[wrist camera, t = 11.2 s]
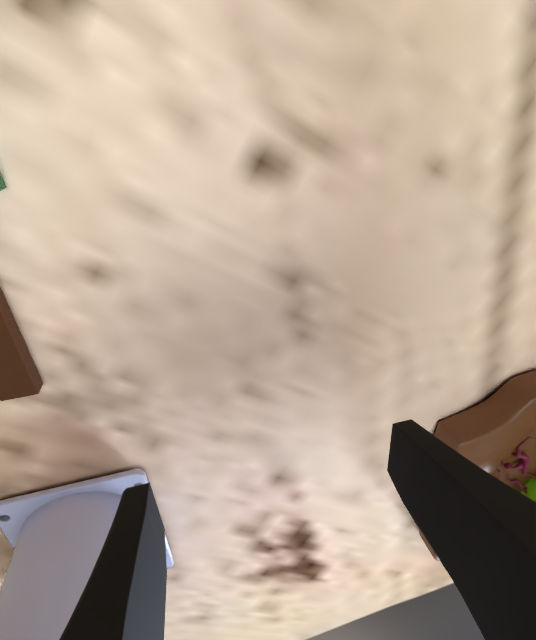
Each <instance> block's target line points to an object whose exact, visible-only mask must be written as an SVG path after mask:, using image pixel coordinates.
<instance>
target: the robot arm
mask: <svg viewBox="0 0 536 640" xmlns="http://www.w3.org/2000/svg"><path fill="white" fill-rule="evenodd" d="M387 471H388V473H389V475H390V477H391V479H392V481H393V483H394V485H395V487H396V489H397V491H398V493H399V495H400V497H401V499H402V501H403V503H404V505H405V506H406V508H407V510H408V511H409V513H410V514H411V516H412V518H413V519H414V521H415V522H416V524H417V525H418V527H419V529H420V530H421V532H422V533H423V535H424V536H425V538H426V539H427V541H428V542H429V544H430V546H431V547H432V549H433V550H434V552H435V553H436V555H437V556H438V558H439V560H440V561H441V563H442V564H443V566H444V567H445V569H446V570H447V572H448V573H449V575H450V577H451V578H452V580H453V582H454V583H455V585H456V587H457V588H458V590H459V591H460V593H461V595H462V597H463V599H464V601H465V603H466V604H467V606H468V608H469V610H470V612H471V614H472V616H473V617H474V620H475V621H476V623H477V625H478V627H479V629H480V631H481V633H482V635H483V637H484V638H485V640H536V502H535V501H533V500H532V499H530V498H528V497H527V496H525V495H523V494H521V493H520V492H518V491H517V490H515V489H513V488H512V487H510V486H508V485H507V484H505V483H503V482H502V481H500V480H499V479H497V478H496V477H494V476H492V475H491V474H489V473H488V472H486V471H485V470H483V469H482V468H480V467H479V466H477V465H476V464H474V463H473V462H471V461H470V460H468V459H467V458H465V457H464V456H462V455H461V454H459V453H458V452H457V451H455V450H454V449H452V448H451V447H449V446H448V445H447V444H445V443H444V442H442V441H441V440H440V439H438V438H437V437H435V436H434V435H433V434H431V433H430V432H428V431H427V430H425V429H424V428H423V427H421V426H420V425H418V424H417V423H416V422H414V421H413V420H407V421H403V422H399V423H394V424H393V427H392V435H391V444H390V452H389V461H388V469H387ZM137 483H139V484H137ZM0 529H1V530H2V532H3V533H4V535H5V536H6V538H7V539H8V541H9V542H10V544H11V545H12V547H13V548H14V552H13V555H12V557H11V560H10V563H9V566H8V569H7V572H6V575H5V578H4V581H3V584H2V587H1V590H0V640H164V624H165V602H166V577H167V569H168V568H170V567H171V566H172V565H173V556H172V553H171V550H170V547H169V544H168V541H167V538H166V535H165V529H164V526H163V523H162V520H161V517H160V514H159V510H158V507H157V504H156V501H155V498H154V495H153V492H152V489H151V486H150V483H148V480H147V477H146V474H145V472H144V471H143V470H141V469H133V470H129V471H124V472H120V473H116V474H112V475H107V476H103V477H99V478H94V479H90V480H86V481H82V482H77V483H73V484H69V485H64V486H60V487H56V488H52V489H47V490H43V491H39V492H35V493H30V494H26V495H22V496H17V497H13V498H9V499H5V500H0Z"/></svg>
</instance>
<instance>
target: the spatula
mask: <svg viewBox="0 0 536 640" xmlns="http://www.w3.org/2000/svg"><path fill="white" fill-rule="evenodd" d="M5 188H6V187H5V184H4V182H3V179H2V176H1V174H0V191H1V190H3V189H5ZM42 385H43V383H42V381H41V378H40V376H39V374H38V372H37V369H36V367H35V365H34V363H33V360H32V358H31V356H30V353H29V351H28V349H27V347H26V344H25V342H24V340H23V338H22V335H21V333H20V331H19V329H18V326H17V324H16V322H15V320H14V317H13V315H12V313H11V311H10V308H9V306H8V304H7V302H6V299H5V297H4V295H3V293H2V290H1V288H0V400H1V401H4V400H9V399H15V398H20V397H25V396H30V395H35V394H39V392H40V389H41V387H42Z"/></svg>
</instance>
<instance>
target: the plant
mask: <svg viewBox="0 0 536 640" xmlns="http://www.w3.org/2000/svg"><path fill="white" fill-rule="evenodd" d="M434 436H435V437H437V438H438V439H440V440H441V441H442V442H444V443H445V444H447V445H448V446H449V447H451V448H452V449H454V450H455V451H457V452H458V453H459V454H461V455H462V456H464V457H465V458H467V459H468V460H470V461H471V462H473V463H474V464H476V465H477V466H479V467H480V468H482V469H483V470H485V471H486V472H488V473H489V474H491V475H492V476H494V477H496V478H497V479H499V480H500V481H502V482H503V483H505V484H507V485H508V486H510V487H512V488H513V489H515V490H517V491H518V492H520V493H521V494H523V495H525V496H527V497H528V498H530V499H532V500H533V501H535V502H536V370H534V371H531V372H528V373H524V374H521V375H518V376H516V377H513V378H512V379H510V380H509V381H507V382H506V383H505V384H504V385H503V386H502V387H501V388H500V389H499V390H498V391H497V392H495V393H494V394H493V395H492V396H491V397H489V398H488V399H487V400H485V401H484V402H482V403H480V404H478V405H476V406H474V407H472V408H470V409H468V410H465V411H463V412H461V413H459V414H456V415H454V416H451V417H449V418H446V419H444V420H441V421H439V422H438V425H437V428H436V431H435V433H434ZM414 522H415V521H414ZM415 523H416V522H415ZM416 525H417V524H416ZM417 527H418V525H417ZM418 528H419V527H418ZM419 530H420V529H419ZM420 536H421V538H422V539H423V541H424V543H425V544H426V546H427V548H428V549H429V551H430V552H431V554H432V556H433V557H434V559H436V560H438V561H440V560H439V558H438V556H437V555H436V553H435V552H434V550H433V549H432V547H431V546H430V544H429V542H428V541H427V539H426V538H425V536H424V535H423V533H422V532H421V530H420Z"/></svg>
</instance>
